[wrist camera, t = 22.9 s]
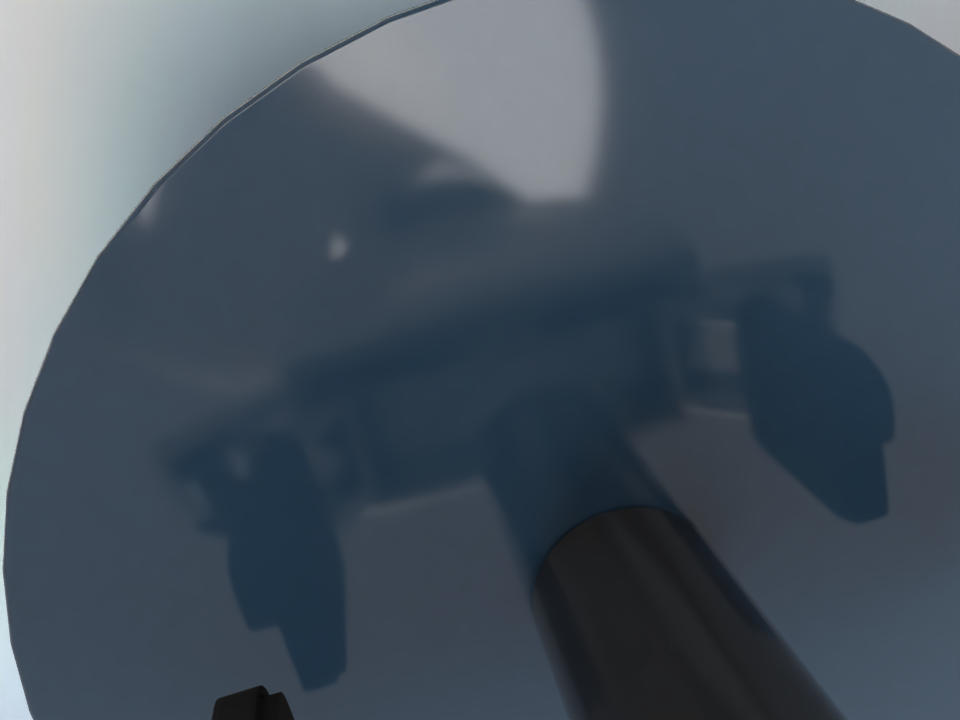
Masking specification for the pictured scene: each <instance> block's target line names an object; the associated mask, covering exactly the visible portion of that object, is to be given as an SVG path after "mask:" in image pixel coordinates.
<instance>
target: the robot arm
mask: <svg viewBox="0 0 960 720" xmlns="http://www.w3.org/2000/svg"><path fill="white" fill-rule="evenodd" d="M212 720H294V717H293V715H292V712H291V710H290V707H289V705H288V702H287V700H286V698H285V696H284V694H283V693H282V692H278V693H275V694H272V695H269V693H268V691H267V690H266V688H265V687H264V686H262V685H260V686H256V687H253V688H250V689H247V690H243V691H240V692H237V693H234V694H230V695H227V696H224V697H221V698H218V699H217V700H216V702H215V705H214V710H213V716H212Z"/></svg>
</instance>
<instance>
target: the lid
mask: <svg viewBox="0 0 960 720" xmlns="http://www.w3.org/2000/svg"><path fill="white" fill-rule="evenodd" d="M2 569H3V578H4V587H5V596H6V605H7V615H8V624H9V633H10V642H11V646H12V650H13V653H14V657H15V660H16V664H17V668H18V671H19V675H20V679H21V682H22V686H23V690H24V693H25V697H26V700H27V704H28V708H29V711H30V713H31V716H32V718H33V720H212V716H213V710H214V705H215V702H216V700H217V699H218V698H221V697H224V696H227V695H230V694H234V693H237V692H240V691H243V690H247V689H250V688H253V687H256V686H260V685H262V686H264V687H265V688H266V690H267V691H268V693H269V695H272V694H275V693H278V692H282V693H283V694H284V696H285V698H286V700H287V702H288V705H289V707H290V710H291V712H292V715H293V717H294V720H960V55H958V54H957V53H955V52H954V51H952V50H951V49H949V48H947V47H946V46H944V45H943V44H941V43H940V42H938V41H936V40H935V39H933V38H932V37H930V36H929V35H927V34H925V33H924V32H922V31H921V30H919V29H918V28H916V27H914V26H913V25H911V24H910V23H908V22H906V21H903V20H901V19H899V18H896V17H894V16H892V15H889V14H887V13H885V12H882V11H880V10H878V9H875V8H873V7H871V6H869V5H866V4H864V3H862V2H859V1H857V0H433V1H431V2H428V3H425V4H422V5H419V6H417V7H414V8H411V9H408V10H405V11H402V12H400V13H397V14H394V15H391V16H388V17H386V18H384V19H382V20H380V21H378V22H376V23H374V24H373V25H371V26H369V27H367V28H365V29H363V30H361V31H359V32H357V33H355V34H353V35H351V36H350V37H348V38H346V39H344V40H342V41H340V42H338V43H336V44H334V45H332V46H330V47H329V48H327V49H325V50H323V51H321V52H319V53H317V54H315V55H313V56H311V57H309V58H308V59H306V60H304V61H302V62H300V63H299V64H297V65H296V66H294V67H293V68H292V69H290V70H289V71H287V72H286V73H285V74H283V75H282V76H281V77H279V78H278V79H276V80H275V81H274V82H272V83H271V84H269V85H268V86H267V87H265V88H264V89H262V90H261V91H260V92H258V93H257V94H255V95H254V96H253V97H251V98H250V99H248V100H247V101H246V102H244V103H243V104H241V105H240V106H239V107H237V108H236V109H235V110H233V111H232V112H230V113H229V114H228V115H226V116H225V117H223V118H222V119H221V120H220V121H219V122H218V123H217V124H216V125H215V126H214V127H213V128H212V129H211V130H210V131H208V132H207V133H206V134H205V135H204V136H203V137H202V138H201V139H200V140H199V141H198V142H197V143H196V144H195V145H194V146H193V147H192V148H191V149H190V150H189V151H188V152H187V153H185V154H184V155H183V156H182V157H181V158H180V159H179V160H178V161H177V162H176V163H175V164H174V165H173V166H172V167H171V168H170V169H169V170H168V171H167V172H166V173H165V174H164V175H163V176H161V177H160V178H159V179H158V180H157V181H156V182H155V183H154V184H153V186H152V187H151V188H150V189H149V191H148V192H147V193H146V195H145V196H144V197H143V198H142V200H141V201H140V202H139V203H138V205H137V206H136V207H135V209H134V210H133V211H132V212H131V214H130V215H129V216H128V218H127V219H126V220H125V221H124V223H123V224H122V225H121V227H120V228H119V229H118V230H117V232H116V233H115V234H114V235H113V237H112V238H111V239H110V241H109V242H108V243H107V244H106V246H105V247H104V248H103V250H102V251H101V252H100V253H99V255H98V256H97V258H96V259H95V261H94V263H93V265H92V266H91V268H90V270H89V272H88V273H87V275H86V277H85V279H84V281H83V282H82V284H81V286H80V288H79V289H78V291H77V293H76V295H75V296H74V298H73V300H72V302H71V303H70V305H69V307H68V309H67V310H66V312H65V314H64V316H63V318H62V319H61V321H60V323H59V325H58V326H57V328H56V330H55V332H54V333H53V336H52V339H51V341H50V344H49V347H48V349H47V352H46V354H45V357H44V360H43V362H42V365H41V367H40V370H39V373H38V375H37V378H36V381H35V383H34V386H33V388H32V391H31V394H30V396H29V399H28V401H27V404H26V407H25V409H24V412H23V416H22V421H21V426H20V430H19V435H18V440H17V444H16V449H15V454H14V458H13V463H12V468H11V472H10V477H9V482H8V486H7V491H6V510H5V529H4V548H3V567H2Z"/></svg>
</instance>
